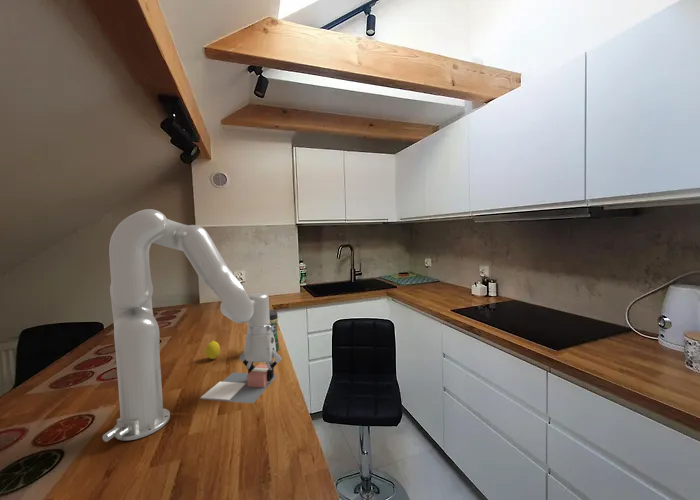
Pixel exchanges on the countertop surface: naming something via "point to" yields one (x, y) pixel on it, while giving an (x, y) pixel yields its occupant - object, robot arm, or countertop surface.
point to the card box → (258, 376)
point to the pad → (223, 390)
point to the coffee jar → (274, 323)
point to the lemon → (212, 350)
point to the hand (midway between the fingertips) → (261, 378)
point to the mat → (244, 389)
